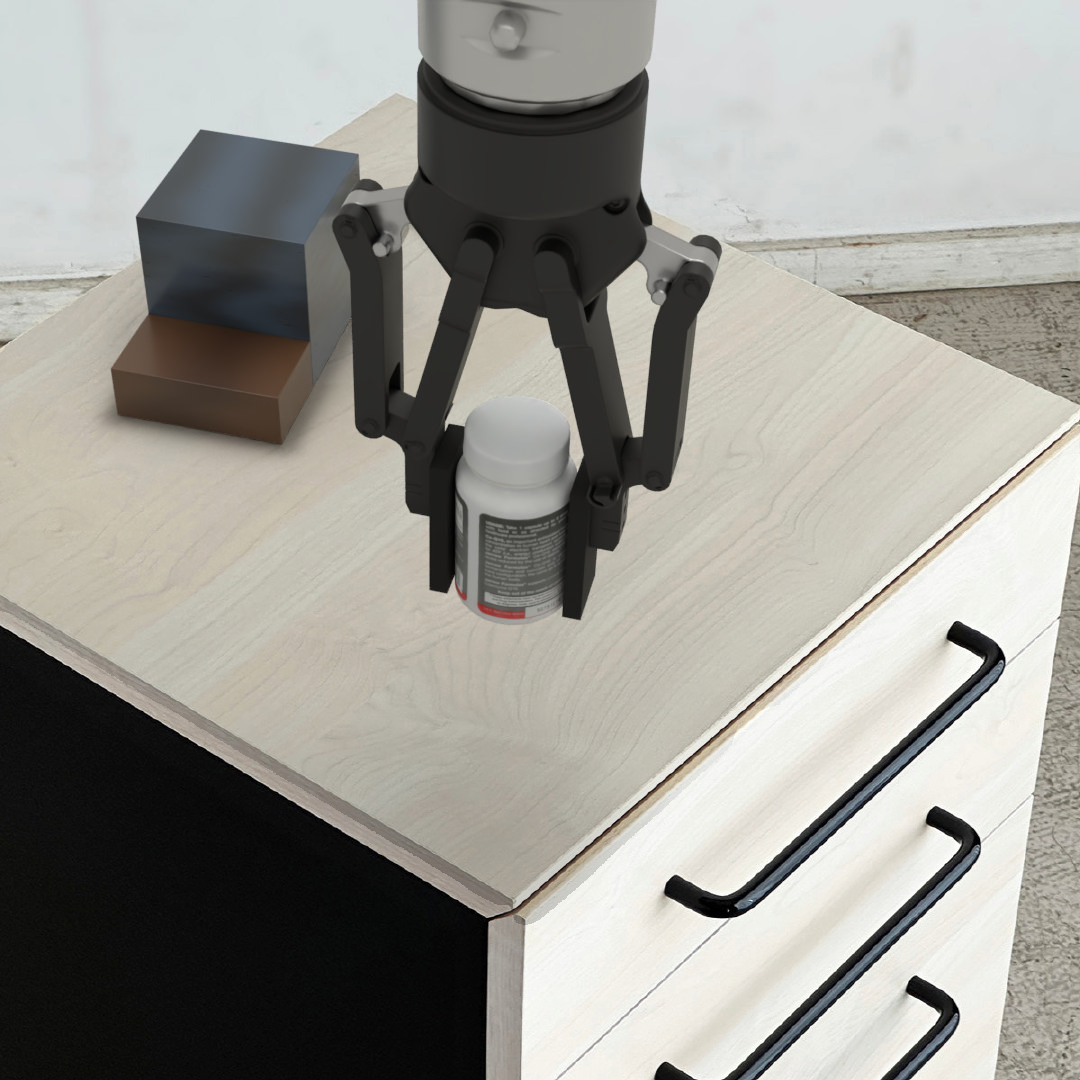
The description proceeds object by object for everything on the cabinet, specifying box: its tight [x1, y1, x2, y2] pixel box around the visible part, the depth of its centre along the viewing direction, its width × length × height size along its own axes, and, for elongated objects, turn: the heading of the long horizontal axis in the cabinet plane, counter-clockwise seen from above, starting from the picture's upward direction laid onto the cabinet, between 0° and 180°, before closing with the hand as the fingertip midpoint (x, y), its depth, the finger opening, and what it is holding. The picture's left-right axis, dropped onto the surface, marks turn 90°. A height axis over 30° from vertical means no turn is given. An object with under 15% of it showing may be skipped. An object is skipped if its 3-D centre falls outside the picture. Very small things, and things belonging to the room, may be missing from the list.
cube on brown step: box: [110, 128, 361, 445], centre depth 101 cm, size 9×14×9 cm, turn 167°
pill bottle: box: [454, 395, 578, 626], centre depth 75 cm, size 5×5×8 cm
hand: (512, 581), depth 77 cm, fingers closed on pill bottle, 5 cm apart
